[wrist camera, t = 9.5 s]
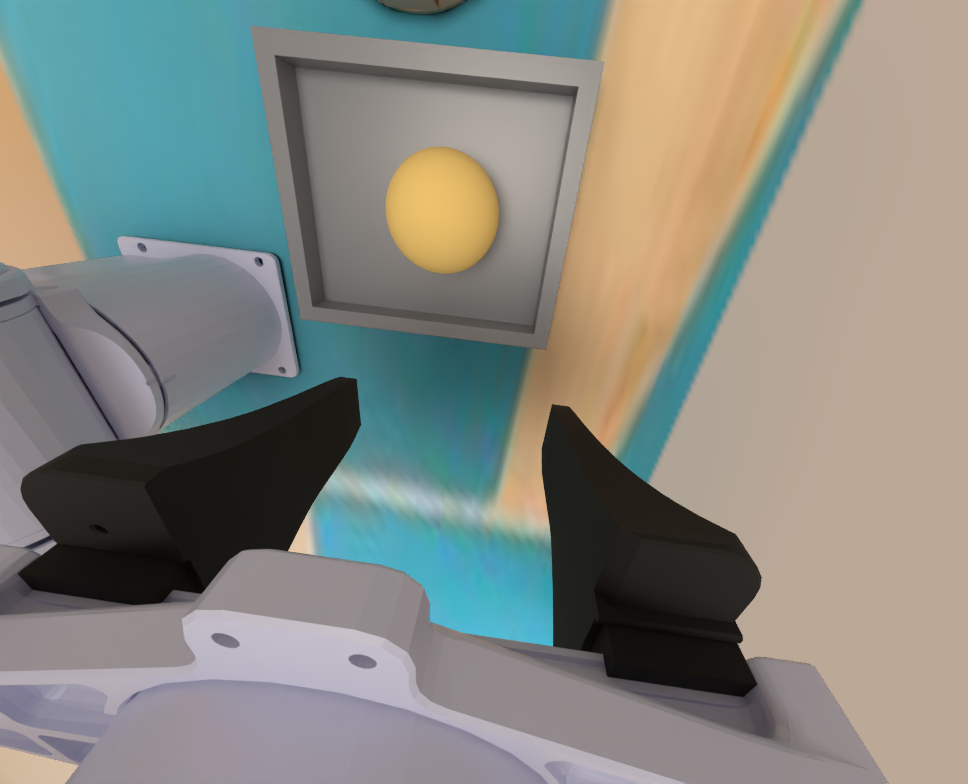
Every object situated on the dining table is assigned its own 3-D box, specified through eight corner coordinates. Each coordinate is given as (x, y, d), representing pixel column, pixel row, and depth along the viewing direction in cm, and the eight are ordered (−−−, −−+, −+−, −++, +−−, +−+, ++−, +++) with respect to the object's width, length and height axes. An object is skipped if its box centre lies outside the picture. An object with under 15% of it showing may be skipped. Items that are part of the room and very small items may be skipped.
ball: (403, 261, 19) (376, 280, 14) (397, 150, 16) (363, 132, 12) (494, 267, 19) (495, 287, 15) (502, 157, 16) (505, 142, 12)
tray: (320, 307, 22) (300, 318, 20) (284, 47, 16) (250, 25, 14) (543, 335, 21) (546, 349, 19) (593, 79, 15) (604, 61, 13)
